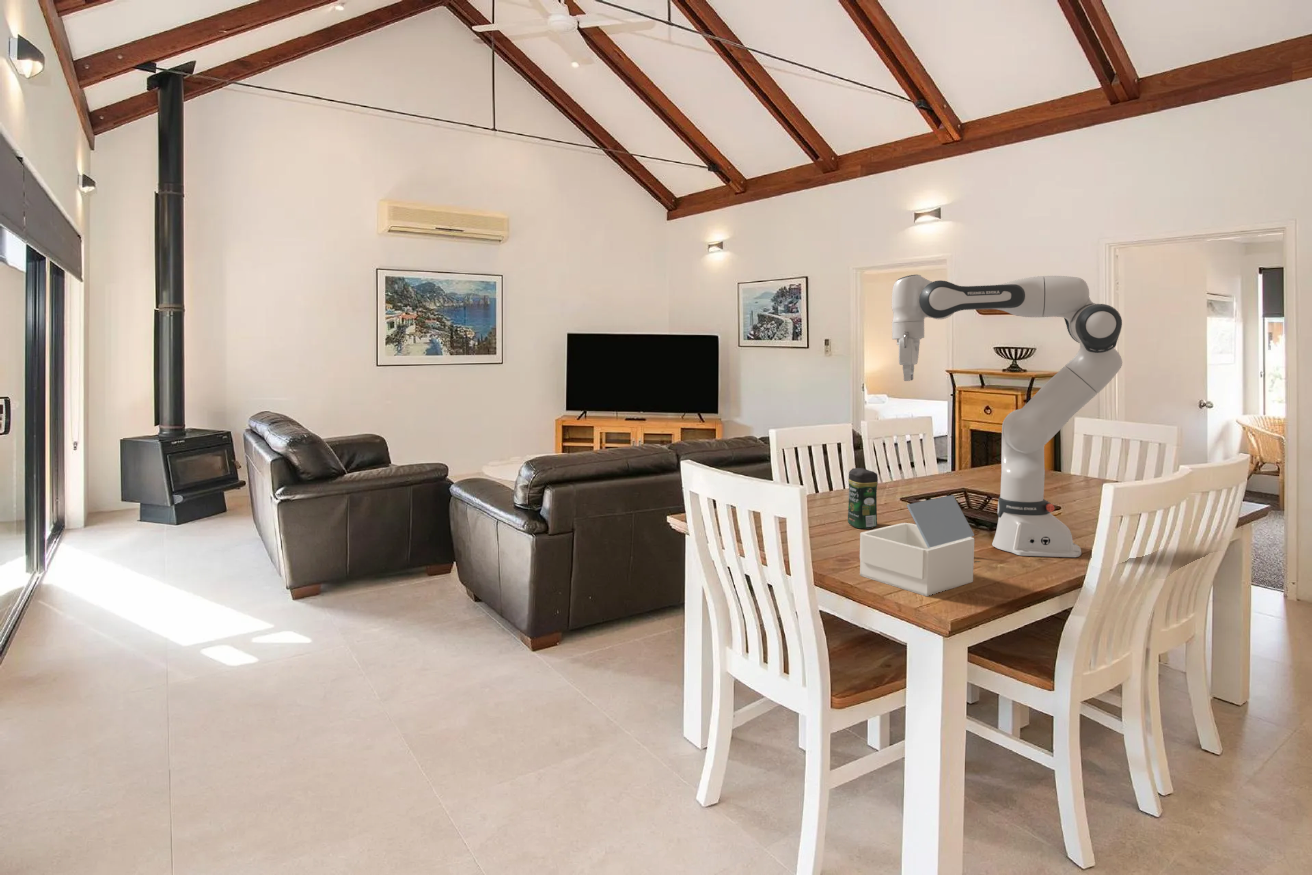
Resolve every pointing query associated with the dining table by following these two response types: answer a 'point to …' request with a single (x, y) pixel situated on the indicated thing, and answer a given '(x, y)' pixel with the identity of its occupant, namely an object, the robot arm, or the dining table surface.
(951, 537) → the lid flap
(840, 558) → the dining table surface
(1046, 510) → the robot arm
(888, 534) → the carton
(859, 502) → the coffee jar
